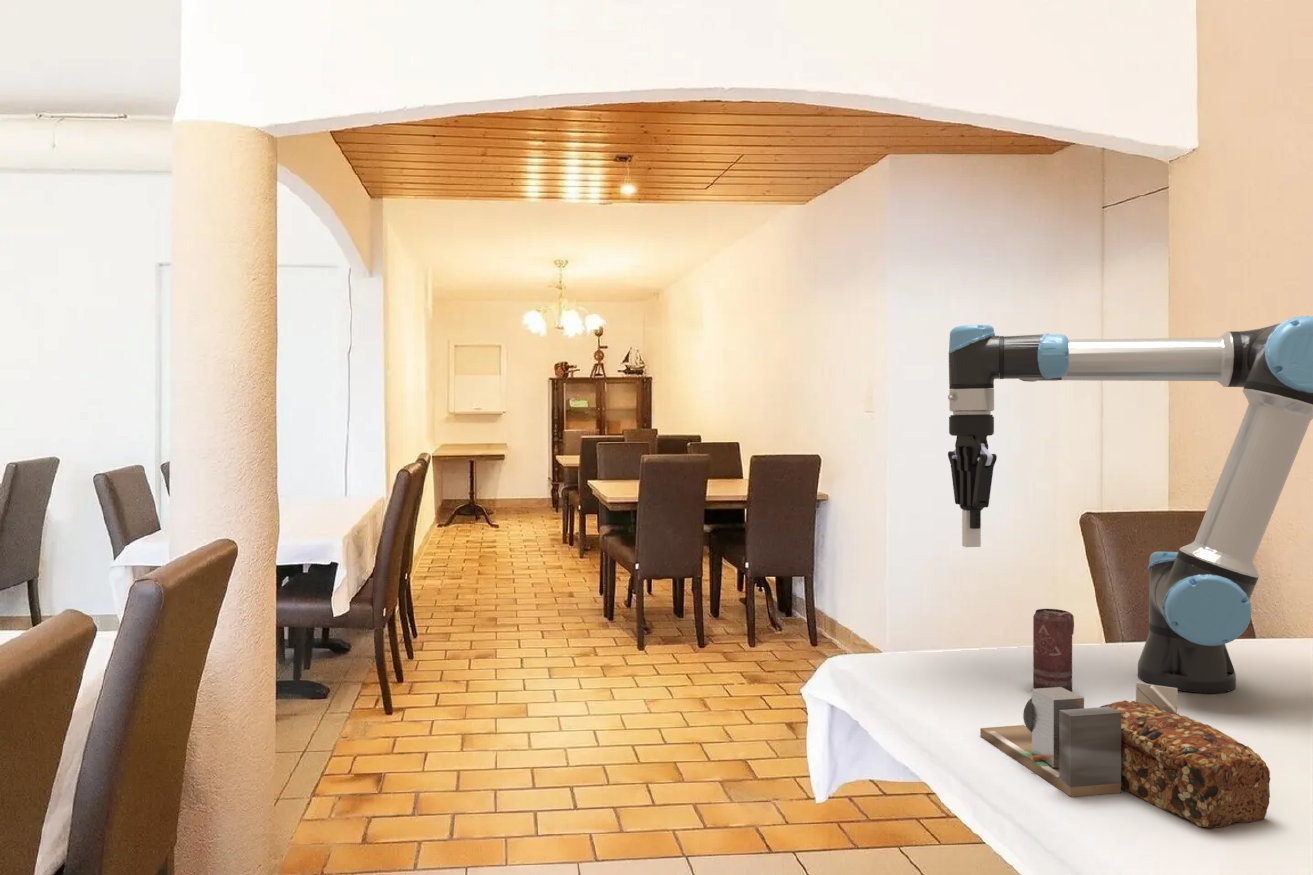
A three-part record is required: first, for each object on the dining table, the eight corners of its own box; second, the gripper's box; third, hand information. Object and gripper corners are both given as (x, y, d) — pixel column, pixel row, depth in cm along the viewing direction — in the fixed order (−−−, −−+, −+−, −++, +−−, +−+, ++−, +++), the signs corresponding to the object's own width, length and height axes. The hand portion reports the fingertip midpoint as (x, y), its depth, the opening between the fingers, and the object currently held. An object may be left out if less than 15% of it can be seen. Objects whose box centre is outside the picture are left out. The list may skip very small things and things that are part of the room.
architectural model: (1176, 744, 134) (1176, 694, 134) (1123, 735, 138) (1123, 686, 138) (1178, 737, 137) (1179, 688, 136) (1127, 729, 141) (1127, 681, 140)
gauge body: (980, 735, 137) (980, 668, 137) (1023, 732, 138) (1023, 665, 138) (1070, 796, 115) (1070, 716, 115) (1121, 792, 116) (1121, 712, 116)
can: (1077, 698, 154) (1077, 615, 153) (1037, 696, 155) (1037, 614, 155) (1069, 688, 160) (1069, 608, 159) (1030, 686, 161) (1030, 607, 161)
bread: (1084, 773, 123) (1084, 699, 123) (1148, 764, 126) (1149, 692, 126) (1204, 834, 105) (1204, 748, 105) (1275, 822, 108) (1276, 737, 108)
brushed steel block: (1017, 752, 126) (1017, 687, 126) (1062, 749, 127) (1063, 684, 127) (1042, 768, 121) (1042, 700, 120) (1089, 764, 122) (1089, 697, 121)
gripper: (934, 413, 168) (934, 542, 169) (970, 413, 155) (970, 552, 156) (972, 413, 169) (972, 540, 170) (1011, 413, 156) (1011, 551, 157)
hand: (971, 546), depth 163 cm, fingers closed
